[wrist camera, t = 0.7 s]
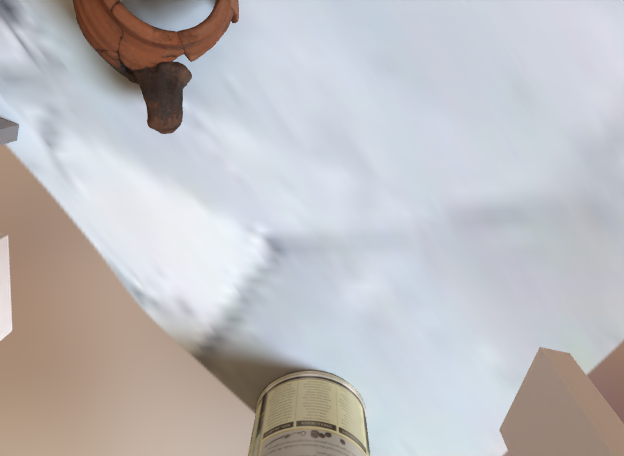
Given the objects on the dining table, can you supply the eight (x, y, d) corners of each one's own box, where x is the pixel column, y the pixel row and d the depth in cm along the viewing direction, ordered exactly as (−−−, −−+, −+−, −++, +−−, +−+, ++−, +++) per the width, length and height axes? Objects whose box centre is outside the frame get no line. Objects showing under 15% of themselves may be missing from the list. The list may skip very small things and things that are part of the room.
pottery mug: (64, -38, 29) (44, -125, 22) (210, -36, 33) (236, -110, 25) (106, 149, 31) (100, 129, 23) (241, 132, 34) (276, 110, 26)
